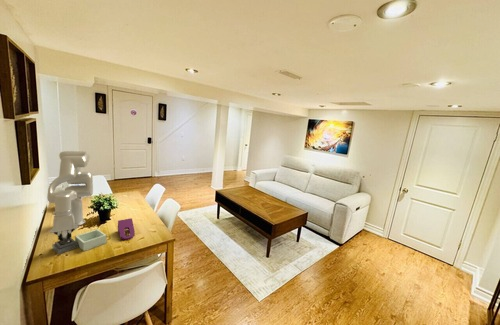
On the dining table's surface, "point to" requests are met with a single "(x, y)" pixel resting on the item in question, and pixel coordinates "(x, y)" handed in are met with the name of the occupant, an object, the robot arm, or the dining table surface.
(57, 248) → the socket block
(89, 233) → the bin
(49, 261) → the dining table surface
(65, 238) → the grey rounded piece
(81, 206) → the robot arm
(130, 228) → the mounting bracket
